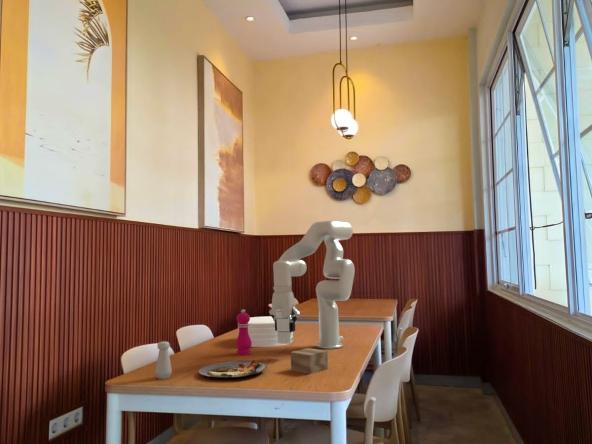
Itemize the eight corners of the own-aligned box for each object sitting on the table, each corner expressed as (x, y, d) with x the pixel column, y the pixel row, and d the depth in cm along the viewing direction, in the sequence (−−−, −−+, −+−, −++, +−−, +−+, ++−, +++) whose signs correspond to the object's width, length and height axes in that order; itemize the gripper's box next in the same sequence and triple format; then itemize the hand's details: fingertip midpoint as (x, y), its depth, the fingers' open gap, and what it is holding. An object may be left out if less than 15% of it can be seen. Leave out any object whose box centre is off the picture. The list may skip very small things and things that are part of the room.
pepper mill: (254, 352, 212) (253, 308, 214) (247, 355, 206) (246, 310, 207) (240, 351, 215) (239, 308, 216) (233, 355, 208) (232, 310, 209)
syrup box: (291, 343, 195) (289, 309, 195) (277, 343, 196) (275, 309, 197) (293, 340, 200) (292, 307, 201) (280, 340, 202) (278, 307, 202)
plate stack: (292, 336, 254) (291, 315, 255) (293, 346, 226) (292, 322, 227) (240, 338, 253) (240, 317, 254) (235, 348, 225) (235, 324, 226)
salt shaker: (157, 376, 173) (157, 340, 174) (172, 375, 173) (172, 340, 174) (153, 380, 167) (153, 343, 168) (170, 379, 167) (169, 343, 168)
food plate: (273, 366, 183) (273, 357, 183) (255, 383, 160) (255, 372, 161) (214, 366, 189) (214, 357, 189) (189, 382, 166) (188, 372, 166)
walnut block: (308, 365, 184) (308, 347, 185) (327, 369, 178) (327, 350, 178) (291, 370, 177) (290, 352, 178) (310, 374, 170) (310, 355, 171)
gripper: (262, 289, 202) (264, 330, 201) (293, 290, 191) (295, 334, 190) (273, 288, 208) (275, 327, 207) (304, 288, 197) (306, 330, 196)
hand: (285, 330), depth 198 cm, fingers closed on syrup box, 7 cm apart
